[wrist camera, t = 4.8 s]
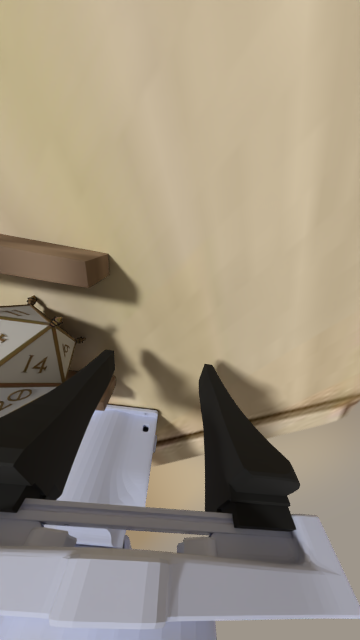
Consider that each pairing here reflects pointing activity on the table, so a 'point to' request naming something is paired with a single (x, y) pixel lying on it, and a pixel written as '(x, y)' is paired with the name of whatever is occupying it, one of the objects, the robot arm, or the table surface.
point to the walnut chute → (55, 271)
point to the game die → (31, 355)
